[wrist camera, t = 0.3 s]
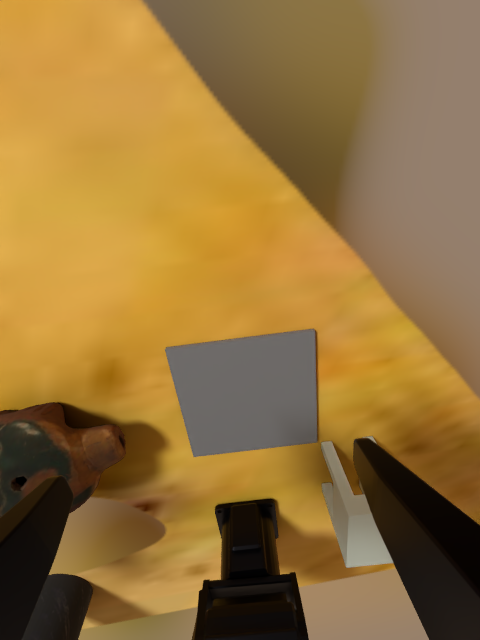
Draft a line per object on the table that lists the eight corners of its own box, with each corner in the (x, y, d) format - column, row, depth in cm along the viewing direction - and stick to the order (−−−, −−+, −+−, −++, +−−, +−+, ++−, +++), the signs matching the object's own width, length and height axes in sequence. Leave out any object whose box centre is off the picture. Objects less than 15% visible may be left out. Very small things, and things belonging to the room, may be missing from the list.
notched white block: (368, 484, 30) (405, 561, 24) (321, 489, 31) (346, 567, 24) (372, 436, 28) (415, 508, 21) (321, 442, 28) (348, 516, 21)
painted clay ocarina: (-55, 411, 25) (-172, 495, 17) (109, 363, 25) (63, 426, 17) (7, 487, 28) (-69, 585, 21) (151, 446, 28) (128, 529, 20)
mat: (316, 439, 28) (317, 442, 27) (194, 453, 28) (193, 457, 27) (313, 328, 23) (315, 330, 22) (166, 347, 23) (165, 349, 23)
